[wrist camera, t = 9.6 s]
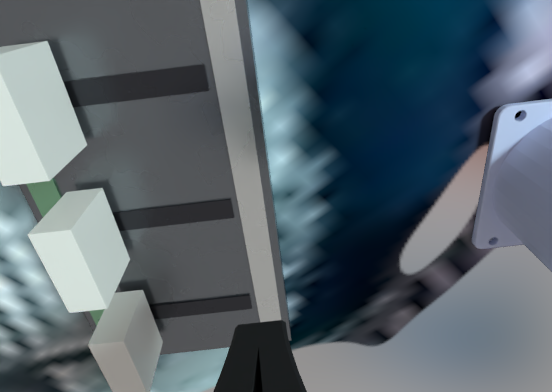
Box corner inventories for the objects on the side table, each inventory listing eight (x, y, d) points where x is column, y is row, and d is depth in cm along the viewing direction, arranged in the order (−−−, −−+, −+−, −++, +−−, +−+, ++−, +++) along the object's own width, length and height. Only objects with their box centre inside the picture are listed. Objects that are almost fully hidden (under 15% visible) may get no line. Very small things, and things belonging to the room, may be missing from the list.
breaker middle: (102, 187, 16) (70, 229, 14) (130, 259, 18) (107, 308, 16) (66, 192, 17) (27, 234, 14) (97, 263, 18) (69, 313, 16)
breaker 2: (142, 289, 19) (123, 341, 17) (162, 342, 21) (148, 396, 19) (112, 293, 19) (87, 345, 17) (135, 344, 21) (116, 399, 19)
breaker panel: (243, -33, 14) (241, -34, 13) (289, 320, 24) (291, 341, 22) (-42, 4, 14) (-74, 7, 13) (116, 339, 24) (107, 361, 22)
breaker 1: (47, 40, 14) (-8, 56, 11) (87, 144, 16) (50, 180, 13) (3, 46, 14) (-63, 63, 11) (49, 149, 16) (3, 186, 13)
